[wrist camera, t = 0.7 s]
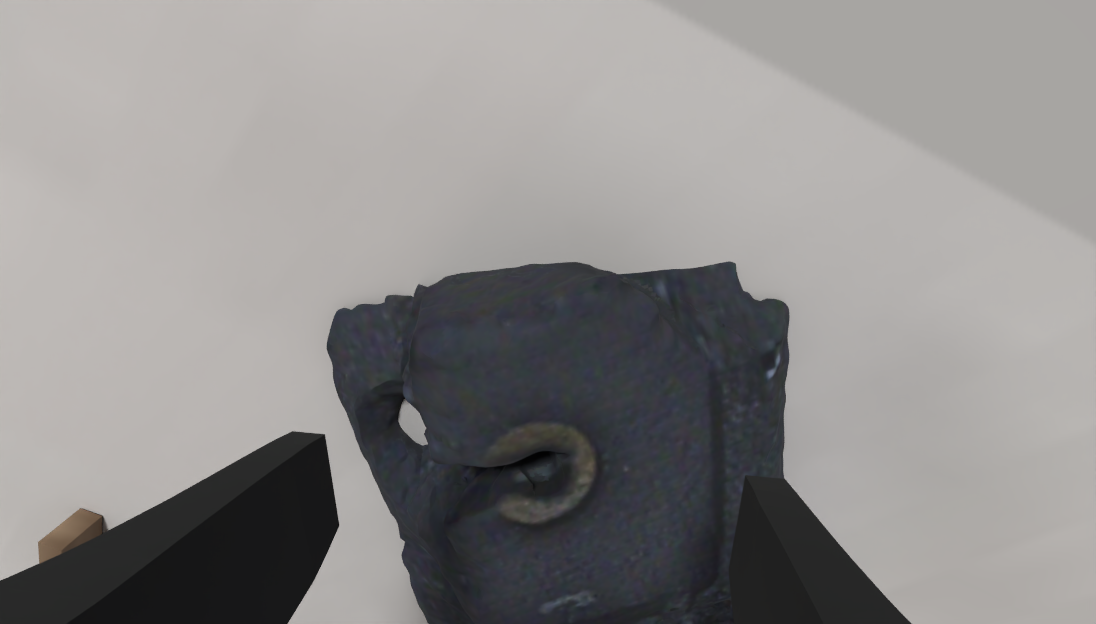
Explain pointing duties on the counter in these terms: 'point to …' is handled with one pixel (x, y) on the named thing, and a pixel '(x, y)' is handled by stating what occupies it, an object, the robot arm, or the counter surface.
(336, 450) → the counter surface
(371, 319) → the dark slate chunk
